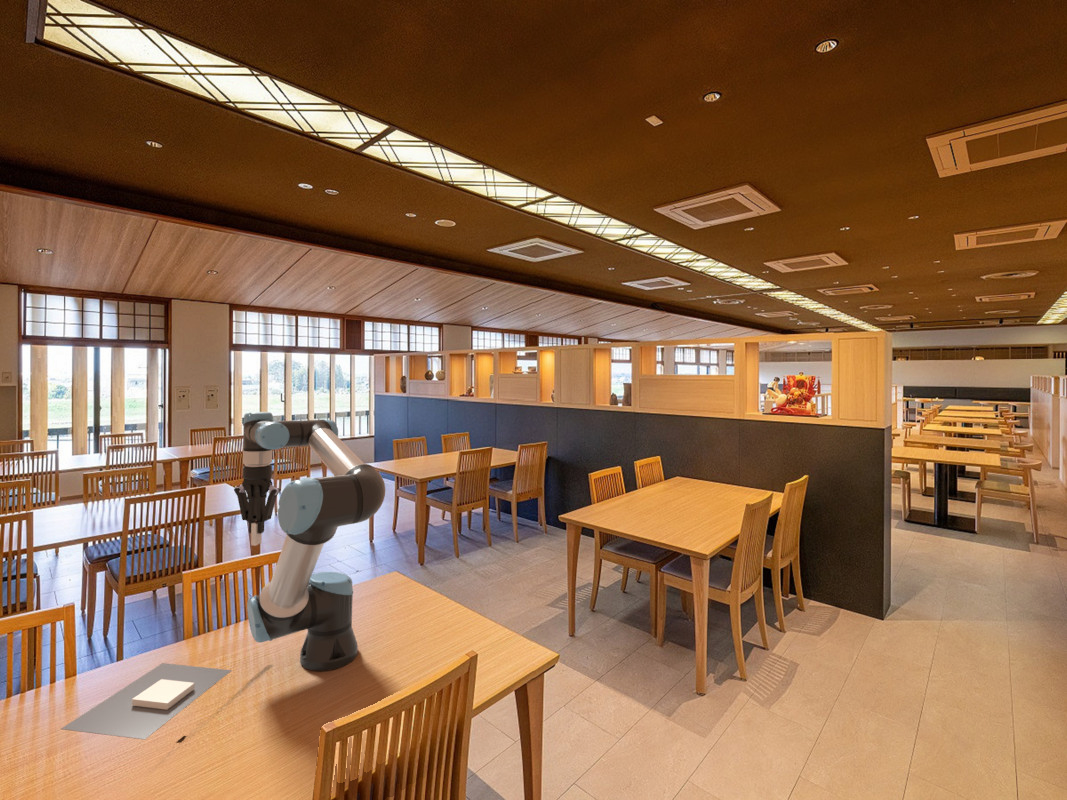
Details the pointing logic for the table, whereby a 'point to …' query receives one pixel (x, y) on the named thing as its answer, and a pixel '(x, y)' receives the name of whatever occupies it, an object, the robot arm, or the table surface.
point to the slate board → (143, 721)
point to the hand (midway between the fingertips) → (256, 544)
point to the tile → (163, 694)
